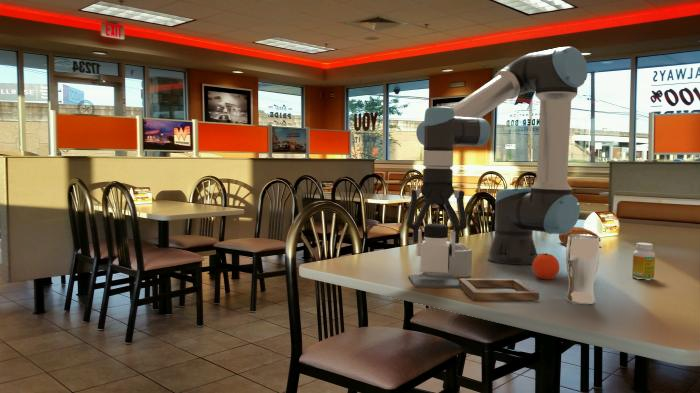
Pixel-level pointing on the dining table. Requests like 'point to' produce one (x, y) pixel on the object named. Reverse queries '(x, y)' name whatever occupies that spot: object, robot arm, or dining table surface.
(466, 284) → the pocket
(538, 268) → the clementine
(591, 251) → the beer glass
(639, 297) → the dining table surface
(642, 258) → the supplement bottle
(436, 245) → the medicine bottle
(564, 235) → the croissant
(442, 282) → the mat
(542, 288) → the dining table surface
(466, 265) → the lumpy-topped squat cylinder
